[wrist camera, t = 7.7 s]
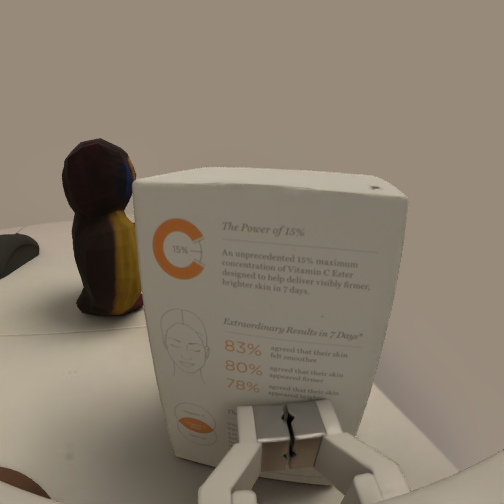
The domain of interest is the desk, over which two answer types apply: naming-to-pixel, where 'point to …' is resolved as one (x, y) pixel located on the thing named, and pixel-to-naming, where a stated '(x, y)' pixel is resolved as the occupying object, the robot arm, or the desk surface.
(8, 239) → the computer mouse
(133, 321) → the desk surface
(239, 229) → the small box
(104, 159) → the figurine
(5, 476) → the coaster
